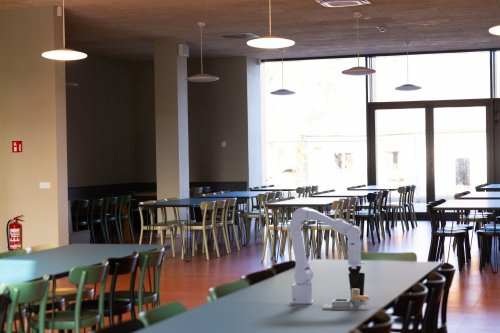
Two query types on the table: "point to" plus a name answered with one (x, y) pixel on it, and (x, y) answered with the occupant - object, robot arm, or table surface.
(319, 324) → the table surface
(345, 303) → the dock
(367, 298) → the pin
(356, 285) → the cup
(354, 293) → the peg
